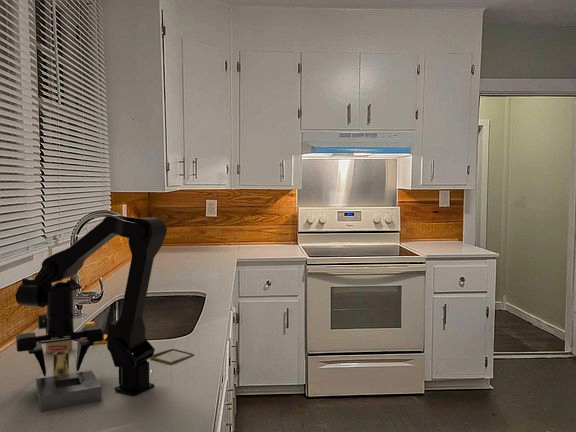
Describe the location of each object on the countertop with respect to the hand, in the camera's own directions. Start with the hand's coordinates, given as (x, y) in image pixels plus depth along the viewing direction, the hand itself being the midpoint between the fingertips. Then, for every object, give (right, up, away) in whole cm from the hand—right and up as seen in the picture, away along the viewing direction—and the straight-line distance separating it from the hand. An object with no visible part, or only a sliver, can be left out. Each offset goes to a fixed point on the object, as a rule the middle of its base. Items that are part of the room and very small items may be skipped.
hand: (61, 373), depth 125 cm
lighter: (-11, -1, +24) cm, 26 cm away
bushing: (0, -2, 0) cm, 2 cm away
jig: (+5, -2, -9) cm, 10 cm away
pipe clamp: (0, -1, +31) cm, 31 cm away
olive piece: (+23, -2, +16) cm, 28 cm away
